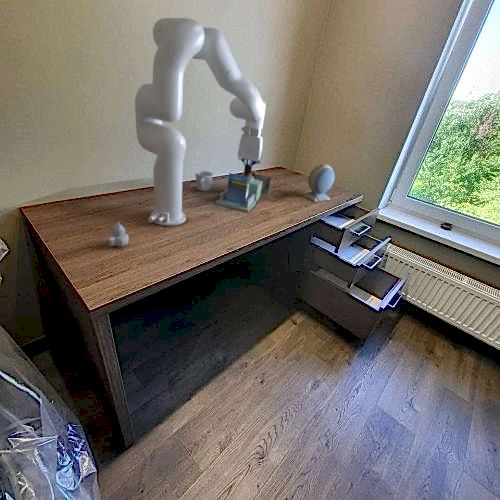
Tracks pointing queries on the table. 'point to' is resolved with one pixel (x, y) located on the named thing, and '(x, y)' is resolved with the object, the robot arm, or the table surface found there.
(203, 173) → the cup
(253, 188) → the red push button box
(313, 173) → the alarm clock
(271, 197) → the table surface
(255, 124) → the robot arm
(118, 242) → the grey lumpy cone shape
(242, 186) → the label tape box
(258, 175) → the architectural model on board
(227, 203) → the drip tray
